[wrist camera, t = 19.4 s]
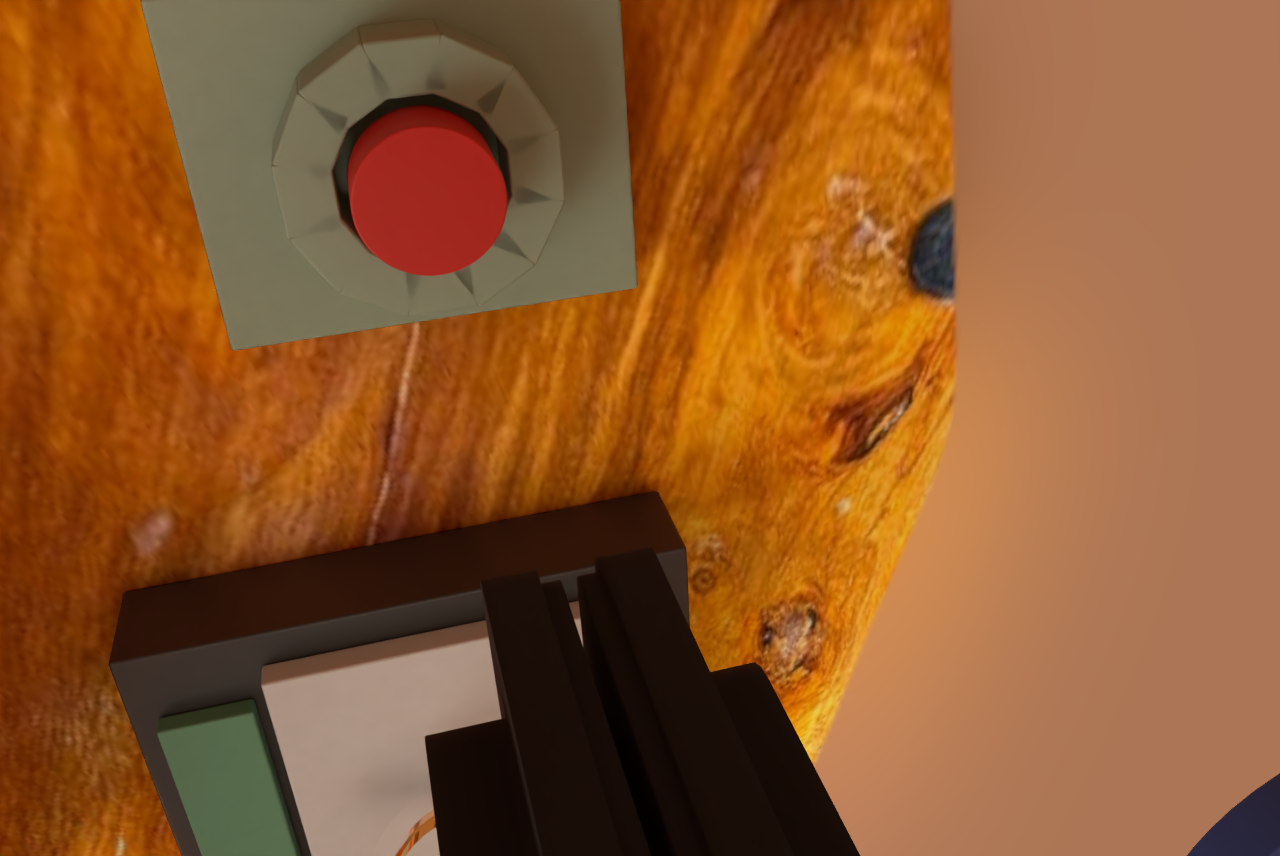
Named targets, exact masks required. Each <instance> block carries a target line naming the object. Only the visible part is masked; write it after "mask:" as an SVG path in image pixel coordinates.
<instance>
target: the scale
mask: <svg viewBox="0 0 1280 856" xmlns="http://www.w3.org/2000/svg"><path fill="white" fill-rule="evenodd" d="M645 547H651V548H653V550H654V552H655V553H656V555H657V558H658V560H659V562H660V564H661V566H662V569H663V571H664V573H665V575H666V577H667V579H668V582H669V584H670V586H671V588H672V590H673V593H674V595H675V597H676V599H677V601H678V603H679V606H680V608H681V610H682V612H683V614H684V617H685V619H686V621H687V623H688V625H689V627H690V622H689V598H688V575H687V552H686V547H685V545H684V543H683V541H682V539H681V537H680V535H679V533H678V531H677V529H676V527H675V525H674V523H673V521H672V519H671V517H670V515H669V513H668V511H667V509H666V507H665V505H664V503H663V501H662V499H661V497H660V495H659V493H658V492H651V493H646V494H640V495H635V496H630V497H625V498H619V499H614V500H609V501H604V502H598V503H593V504H588V505H583V506H577V507H572V508H567V509H562V510H556V511H551V512H546V513H541V514H536V515H530V516H525V517H520V518H515V519H509V520H504V521H499V522H494V523H488V524H483V525H478V526H473V527H467V528H462V529H457V530H452V531H446V532H441V533H436V534H431V535H425V536H420V537H415V538H410V539H404V540H399V541H394V542H389V543H383V544H378V545H373V546H368V547H362V548H357V549H352V550H347V551H341V552H336V553H331V554H326V555H320V556H315V557H310V558H305V559H299V560H294V561H289V562H284V563H279V564H273V565H268V566H263V567H258V568H252V569H247V570H242V571H237V572H231V573H226V574H221V575H216V576H210V577H205V578H200V579H195V580H189V581H184V582H179V583H174V584H168V585H163V586H158V587H153V588H147V589H142V590H137V591H132V592H126V593H124V594H123V598H122V603H121V608H120V613H119V618H118V622H117V627H116V632H115V637H114V641H113V646H112V651H111V656H110V660H109V667H110V670H111V672H112V675H113V677H114V680H115V683H116V685H117V688H118V691H119V693H120V696H121V698H122V701H123V704H124V706H125V709H126V711H127V714H128V717H129V719H130V722H131V725H132V727H133V730H134V732H135V735H136V738H137V740H138V743H139V746H140V748H141V751H142V753H143V756H144V759H145V761H146V764H147V766H148V769H149V772H150V774H151V777H152V780H153V782H154V785H155V787H156V790H157V793H158V795H159V798H160V800H161V803H162V806H163V808H164V811H165V814H166V816H167V819H168V821H169V824H170V827H171V829H172V832H173V835H174V837H175V840H176V842H177V845H178V848H179V850H180V853H181V855H182V856H372V854H373V852H374V849H375V847H376V845H377V843H378V841H379V839H380V837H381V836H382V834H383V832H384V831H385V829H386V828H387V827H388V825H389V824H390V823H391V821H392V820H393V819H394V818H395V817H396V816H397V815H398V814H399V813H400V812H401V811H402V810H403V809H404V808H405V807H406V806H407V805H409V804H410V803H411V802H413V801H414V800H416V799H417V798H419V797H420V796H422V795H423V794H425V793H427V792H429V791H431V785H430V777H429V770H428V762H427V754H426V746H425V736H427V735H431V734H436V733H440V732H445V731H449V730H454V729H458V728H463V727H467V726H472V725H476V724H481V723H485V722H490V721H494V720H499V719H501V713H500V707H499V700H498V694H497V688H496V681H495V675H494V669H493V662H492V656H491V650H490V644H489V637H488V631H487V625H486V618H485V612H484V606H483V599H482V593H481V586H480V580H484V579H489V578H494V577H499V576H504V575H509V574H514V573H519V572H524V571H529V570H535V569H536V571H537V573H538V576H539V579H540V582H541V584H542V583H547V582H551V581H556V580H561V582H562V584H563V587H564V590H565V593H566V596H567V599H568V602H569V605H570V608H571V611H572V614H573V617H574V620H575V624H576V627H577V630H578V633H579V636H580V639H581V642H582V645H583V638H582V629H581V619H580V610H579V600H578V591H577V577H578V576H581V575H586V574H591V573H595V559H596V557H600V556H605V555H610V554H615V553H620V552H625V551H630V550H635V549H640V548H645ZM406 856H440V853H439V846H438V838H437V830H436V828H434V829H433V830H431V831H430V832H428V833H427V834H426V835H424V836H423V837H422V838H421V839H420V840H419V841H418V842H417V843H416V844H415V845H414V846H413V847H412V848H411V850H410V851H409V852H408V854H407V855H406Z"/></svg>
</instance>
